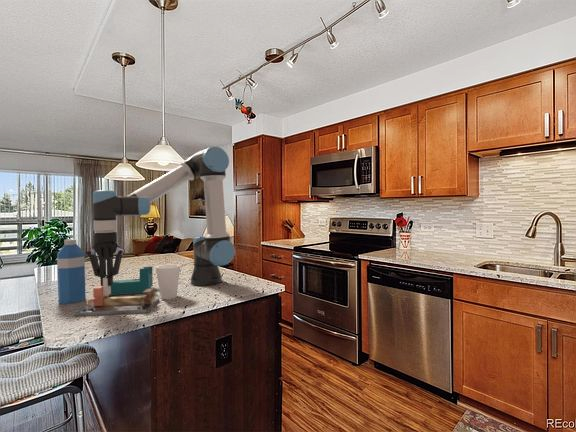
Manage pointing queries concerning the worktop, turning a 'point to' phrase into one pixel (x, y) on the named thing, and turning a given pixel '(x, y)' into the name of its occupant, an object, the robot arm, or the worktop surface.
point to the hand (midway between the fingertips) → (107, 294)
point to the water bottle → (71, 273)
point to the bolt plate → (115, 309)
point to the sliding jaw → (97, 297)
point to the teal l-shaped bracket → (134, 283)
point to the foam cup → (168, 280)
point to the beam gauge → (130, 299)
